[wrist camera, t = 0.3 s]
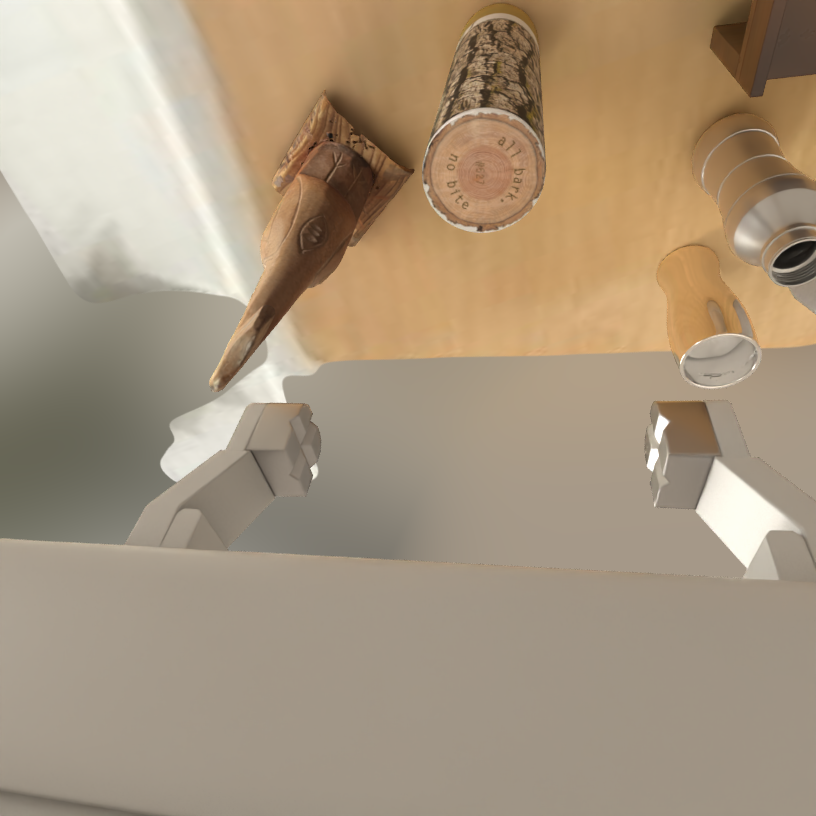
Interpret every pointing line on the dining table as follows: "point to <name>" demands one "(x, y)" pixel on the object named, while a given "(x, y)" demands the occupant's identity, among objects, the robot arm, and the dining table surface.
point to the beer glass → (706, 321)
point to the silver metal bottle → (759, 197)
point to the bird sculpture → (312, 223)
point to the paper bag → (806, 294)
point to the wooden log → (489, 125)
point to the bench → (769, 43)
